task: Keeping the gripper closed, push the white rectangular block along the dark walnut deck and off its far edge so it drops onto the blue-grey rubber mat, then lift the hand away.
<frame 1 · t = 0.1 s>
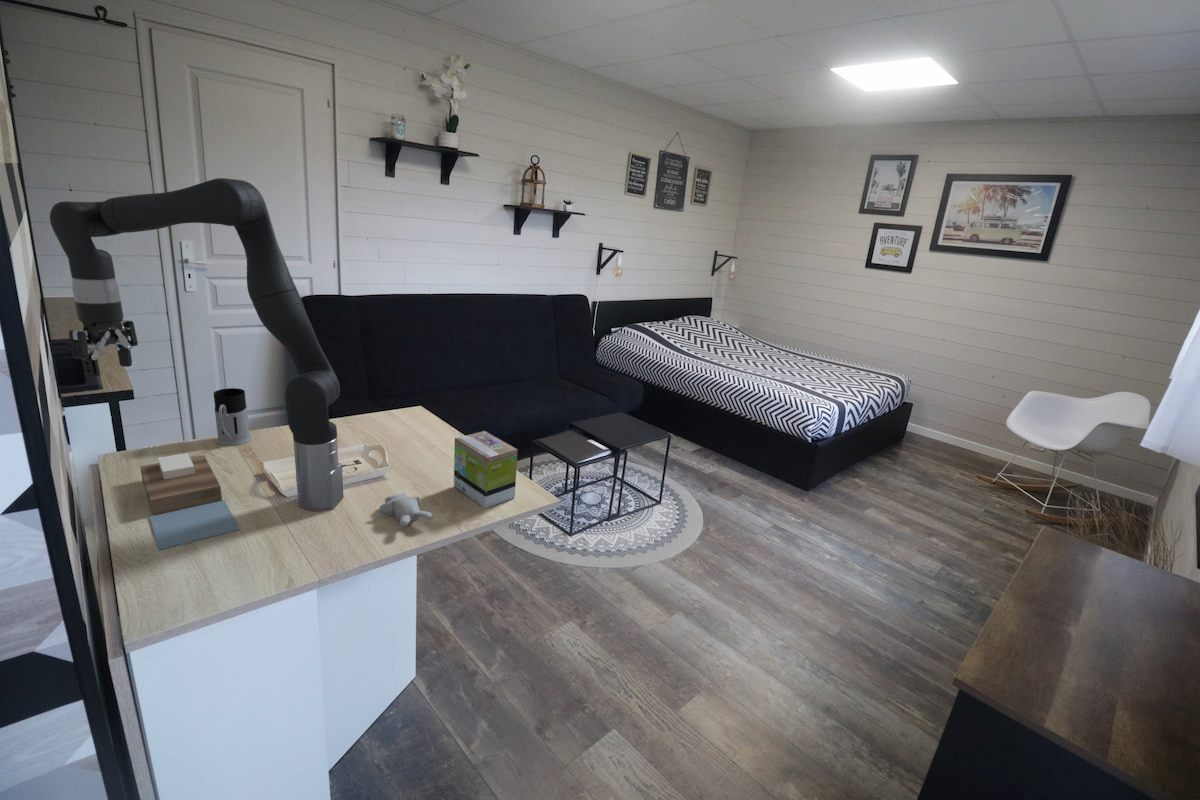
hand: (110, 370, 125), 29 cm above the table, fingers open, 8 cm apart
grey animal figure: (404, 519, 133), on the table
deck: (181, 490, 134), on the table
mat: (194, 523, 122), on the table
white rectangular block: (176, 469, 136), point 4 cm above the table, touching deck
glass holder: (232, 444, 161), on the table
tea box: (483, 493, 149), on the table
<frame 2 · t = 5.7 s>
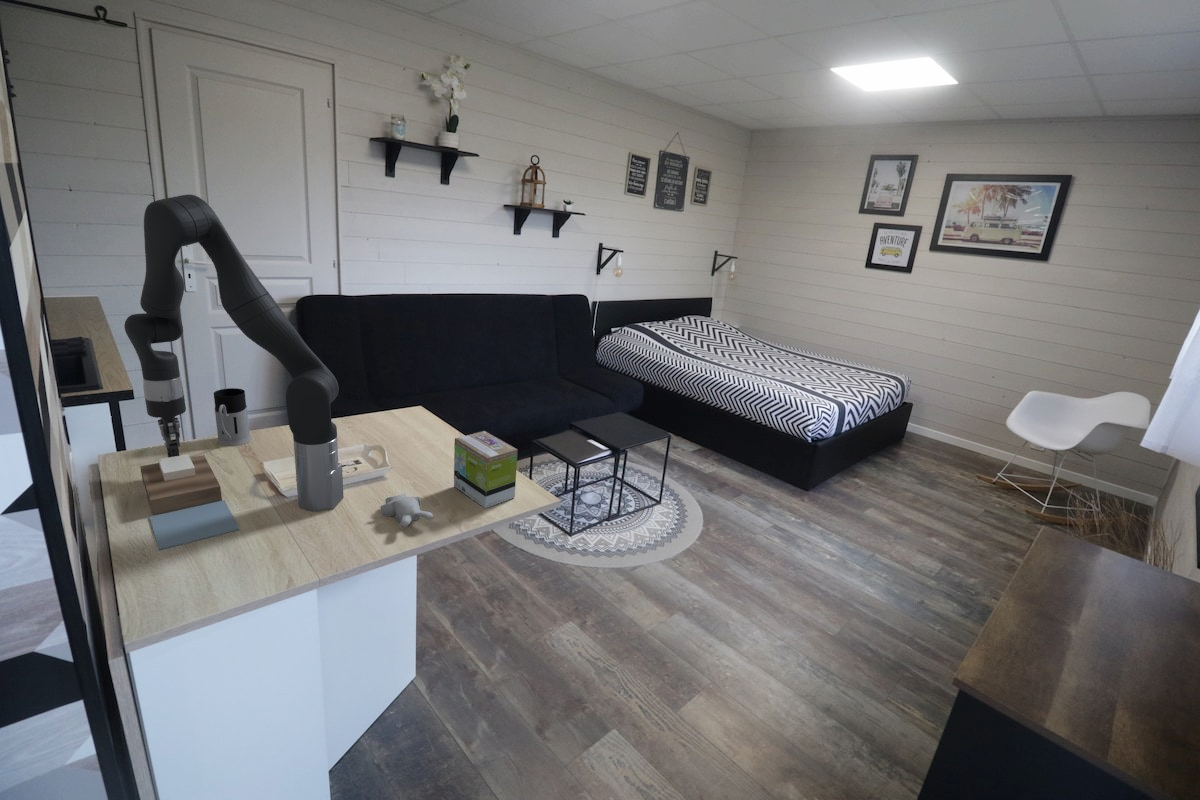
hand: (174, 459, 139), 4 cm above the table, fingers closed
white rectangular block: (177, 470, 135), point 4 cm above the table, touching deck, gripper
everything else where it was.
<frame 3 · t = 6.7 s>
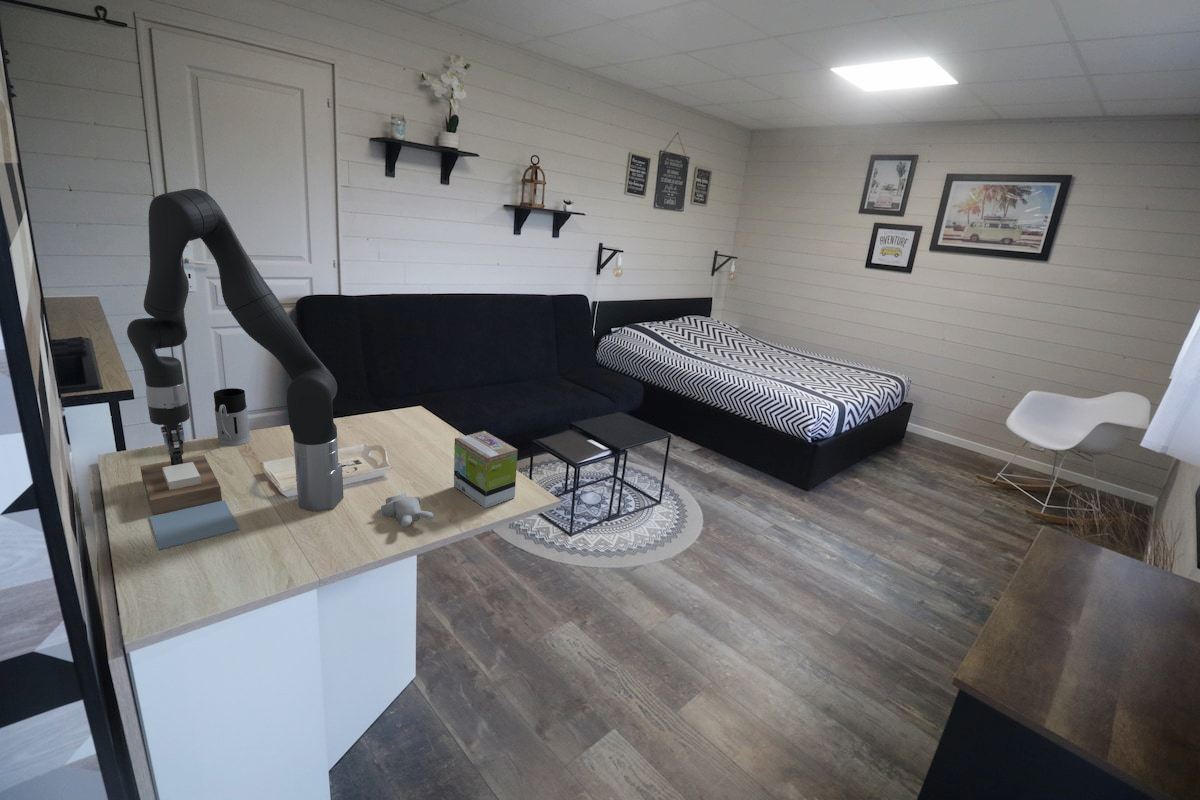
hand: (177, 467, 136), 4 cm above the table, fingers closed
white rectangular block: (182, 479, 132), point 4 cm above the table, touching deck, gripper
everything else where it was.
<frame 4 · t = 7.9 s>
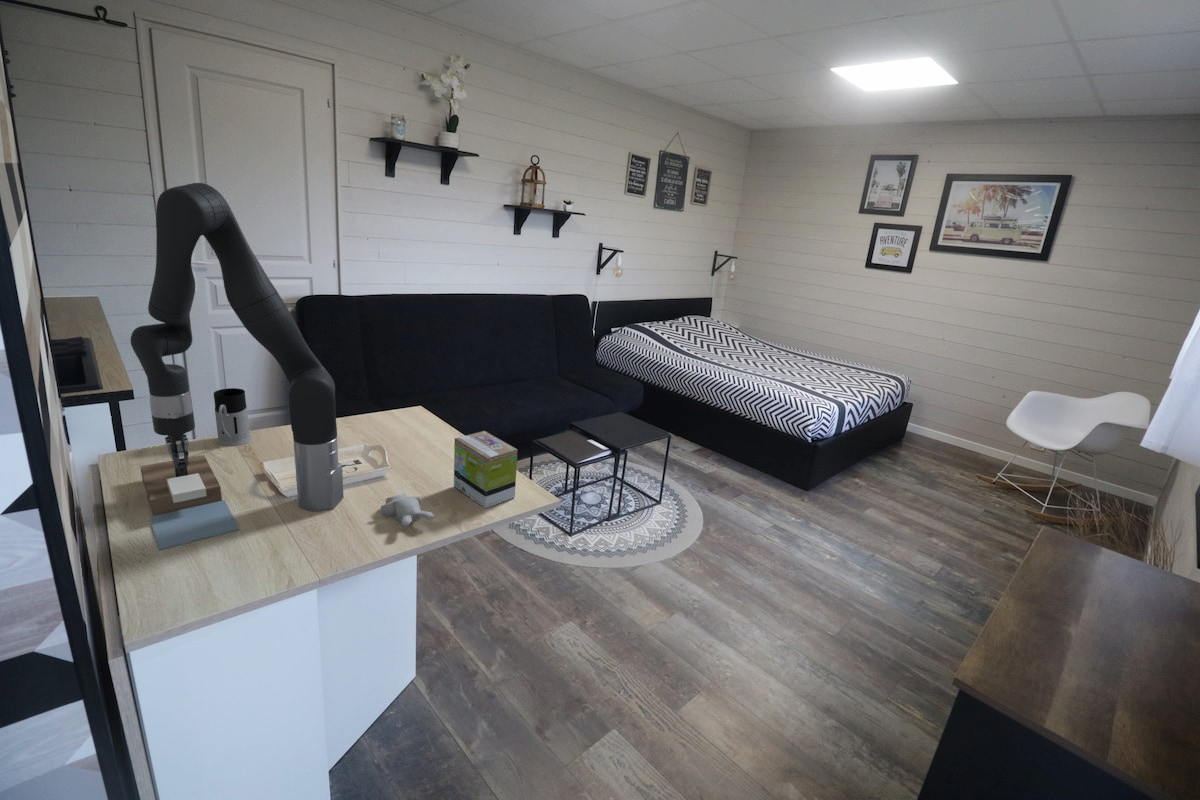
hand: (182, 479, 131), 4 cm above the table, fingers closed
white rectangular block: (187, 491, 127), point 4 cm above the table, touching gripper
everything else where it was.
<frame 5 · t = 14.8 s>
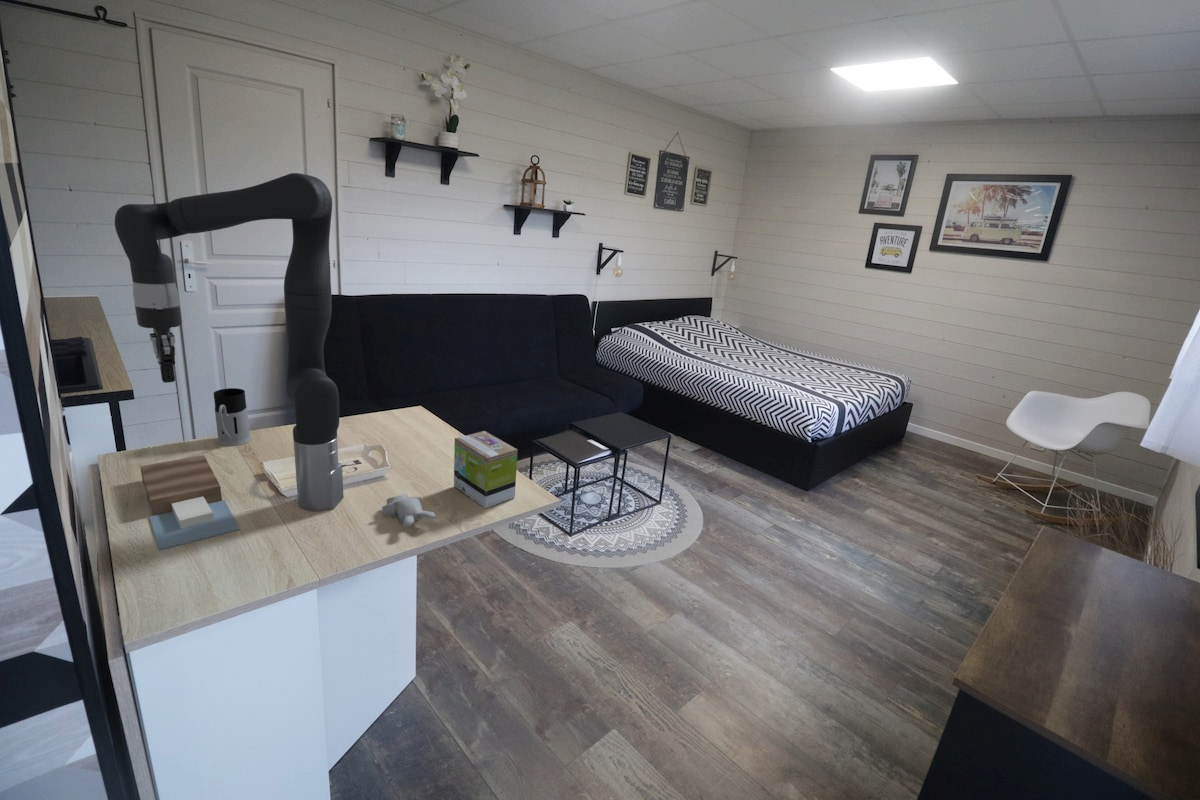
hand: (168, 381, 123), 29 cm above the table, fingers closed
white rectangular block: (193, 515, 124), resting on mat
everything else where it was.
at the end: white rectangular block resting on mat; white rectangular block 3.2 cm from the mat (horizontally) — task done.
